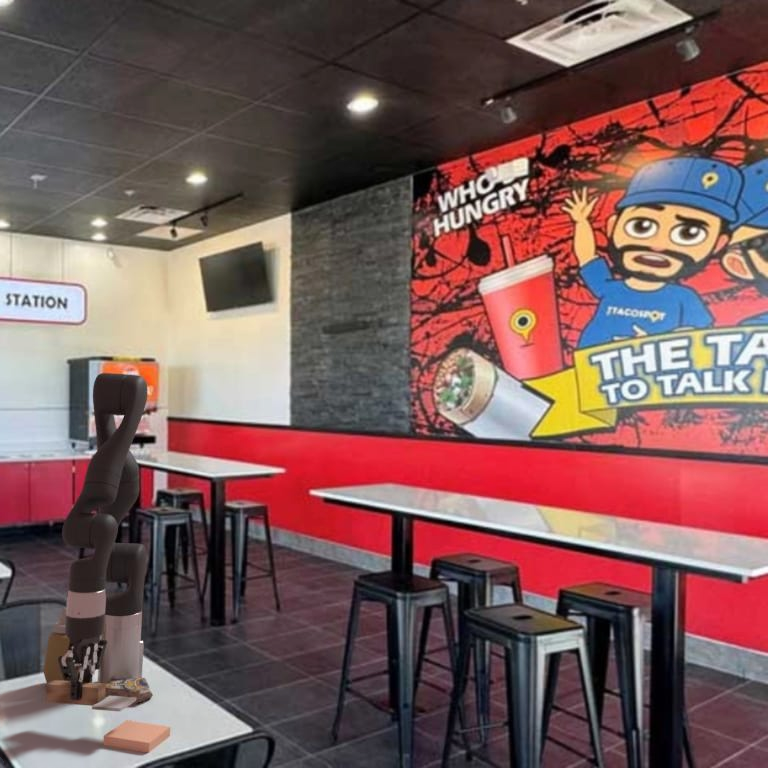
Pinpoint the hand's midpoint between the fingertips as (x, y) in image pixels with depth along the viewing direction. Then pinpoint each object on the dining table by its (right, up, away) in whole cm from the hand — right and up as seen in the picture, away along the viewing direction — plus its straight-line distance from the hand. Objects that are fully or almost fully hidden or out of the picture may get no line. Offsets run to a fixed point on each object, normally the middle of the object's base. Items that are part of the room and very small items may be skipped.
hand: (81, 696), depth 157 cm
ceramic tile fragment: (+3, -8, +20) cm, 22 cm away
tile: (+8, -6, -2) cm, 10 cm away
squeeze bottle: (-14, -7, +24) cm, 28 cm away
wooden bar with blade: (+2, -1, 0) cm, 2 cm away
